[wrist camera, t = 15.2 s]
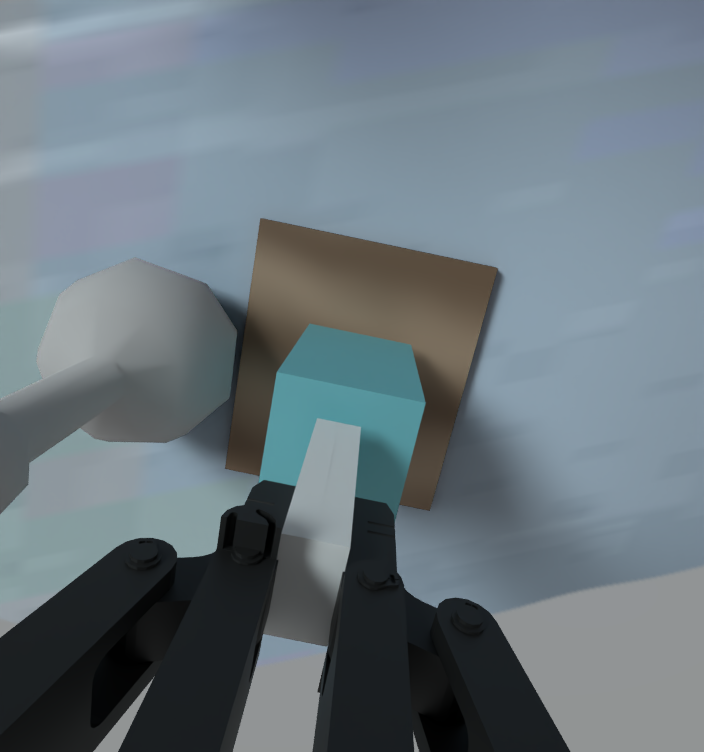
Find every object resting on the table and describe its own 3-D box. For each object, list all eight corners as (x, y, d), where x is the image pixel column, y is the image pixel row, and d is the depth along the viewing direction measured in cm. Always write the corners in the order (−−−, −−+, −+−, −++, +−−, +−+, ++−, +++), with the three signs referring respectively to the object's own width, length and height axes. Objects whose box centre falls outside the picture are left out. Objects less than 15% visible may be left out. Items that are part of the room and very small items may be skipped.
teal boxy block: (309, 323, 26) (276, 371, 18) (410, 344, 26) (425, 402, 18) (292, 418, 27) (255, 503, 19) (388, 437, 27) (392, 531, 19)
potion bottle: (110, 233, 27) (-381, 257, 9) (273, 292, 27) (87, 420, 10) (78, 383, 29) (-354, 619, 12) (228, 436, 30) (18, 735, 12)
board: (263, 218, 26) (260, 218, 25) (495, 267, 26) (497, 268, 26) (228, 463, 30) (225, 468, 30) (428, 505, 30) (429, 510, 30)
